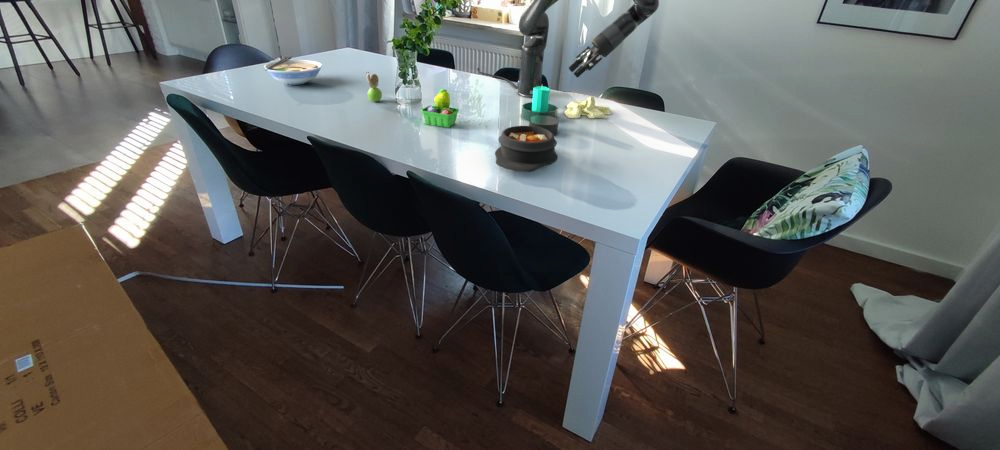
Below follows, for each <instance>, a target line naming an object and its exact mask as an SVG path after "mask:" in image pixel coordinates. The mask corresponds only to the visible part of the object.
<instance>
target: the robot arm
mask: <svg viewBox="0 0 1000 450" xmlns="http://www.w3.org/2000/svg"><path fill="white" fill-rule="evenodd" d="M558 1H559V0H531V2H530V3H529V4H528V6H527V7H526V8H525V10H524V11H523V13H522V14H521V15H520V18H519V21H518V29H519V32H520V33H521V34H522V35H523V36H525V37H530V38H529V39H528V41H526V42H525V43H524V44H523V45H522V46H521V57H520V70H519V72H518V81H517V85H515V84H514V82H512V81H511V80H509V79H508V78H506V77H502V76H499V75H494V74H490V73H486V72H482V71H480V67H477V68H476V71H477V72H478V74H480V75H484V76H489V77H492V78H497V79H501V80H503V81H506V82H508V83H509V84H510V85H511V86H512V87H513V88H514V89H517V93H518V95H519V96H522V97H524V98H533V89H534V88H535V87H538V86H542V78H543V69H544V68H543V67H544V58H545V57H544V56H545V55H544V54H545V50H546V47H547V44H548V38H549V37H548V36H549V29H550V19H549V16H548V14H547V10H549V8H551V7H552V6H553V5H555V3H558ZM632 2H634V3H633V4H632V5H631V6H630V7H629V8H628V9H626V11H625V12H622V14H620V15H619V16H618V17H617V18H616V19H615V20H614V21H612V23H610V24H609V25H608V26H606V27H605V28H604V29H603V30H602V31H600V33H598V34H597V35H596V36H595V37H593V39H591V44H592V47H590V46H587V47H586V48H584V49H583V50H582V51H581V52H580V53H579V54H578V55H576V57H575V61H573V63H571V64H570V65H569V66H568V70H569V71H570V72H571V73H573V75H574V76H575V77H576V78H579V77H581V75H582V74H584V73H585V72H587V71H591V70H592V69H593V68H594V67H596V66H597V65H598V64H599V63H600V62H601V60H603V58H607V56H609V55H610V54H611V53H612V52H614V50H615V49H617V48H618V47H619V46H620V45H621V44H622V43H623V42H624V41H625V40H626V38H628V37H629V36H630V35H631V34H632V33H633V32H635V30H636V29H637V28H638V27H639V26H640V25H642V23H644V22H645V21H646V20H647V19H649V18H650V17H651V16H652V15H654V13H656V12H657V10H658V9H659V6H660V0H632Z"/></svg>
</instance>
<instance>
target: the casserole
mask: <svg viewBox="0 0 1000 450" xmlns="http://www.w3.org/2000/svg"><path fill="white" fill-rule="evenodd" d="M497 141H498V143H499V144H500V147H498V148H496V150H495V152H494V155H495V164H496V165H497V166H498V167H500V168H503V169H505V170H510V171H515V172H523V173H532V172H535V171H537V170H540V169H541V168H544V167H547V166H550V165H551V166H552V164H555V163H556V162H557V161H558V159H559V155H558V153H557V152H556V146H557V144H558V143H557V140H556V139H555V135H553V133H552V132H550V131H548V130H546V129H543V128H539V127H533V126H529V125H515V126H510V127H506V128H504V129H503V130H502V131H501V134H500V135H499V137H498V139H497Z"/></svg>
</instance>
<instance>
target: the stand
mask: <svg viewBox="0 0 1000 450" xmlns="http://www.w3.org/2000/svg"><path fill="white" fill-rule="evenodd" d="M559 124H560V119H558V117H557V118H554V117H551V116H544V115H538V116H532V117H530V118H529V121H528V126H533V127H539V128H543V129H546V130H548V131H550V132H552V133H553V135H554V136H556V135H557V134H558V130H559Z"/></svg>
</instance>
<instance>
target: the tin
mask: <svg viewBox="0 0 1000 450" xmlns="http://www.w3.org/2000/svg"><path fill="white" fill-rule="evenodd" d="M558 113H559V107H558V106H557V105H555V104H552V103H549V105H548V112H535V111H532V101H531V102H526V103H524V104H522V106H521V118H522V119H523V120H525V121H527V122H529V118H530V117H532V116H538V115H544V116H551V117H554V118H557V119H558Z"/></svg>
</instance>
